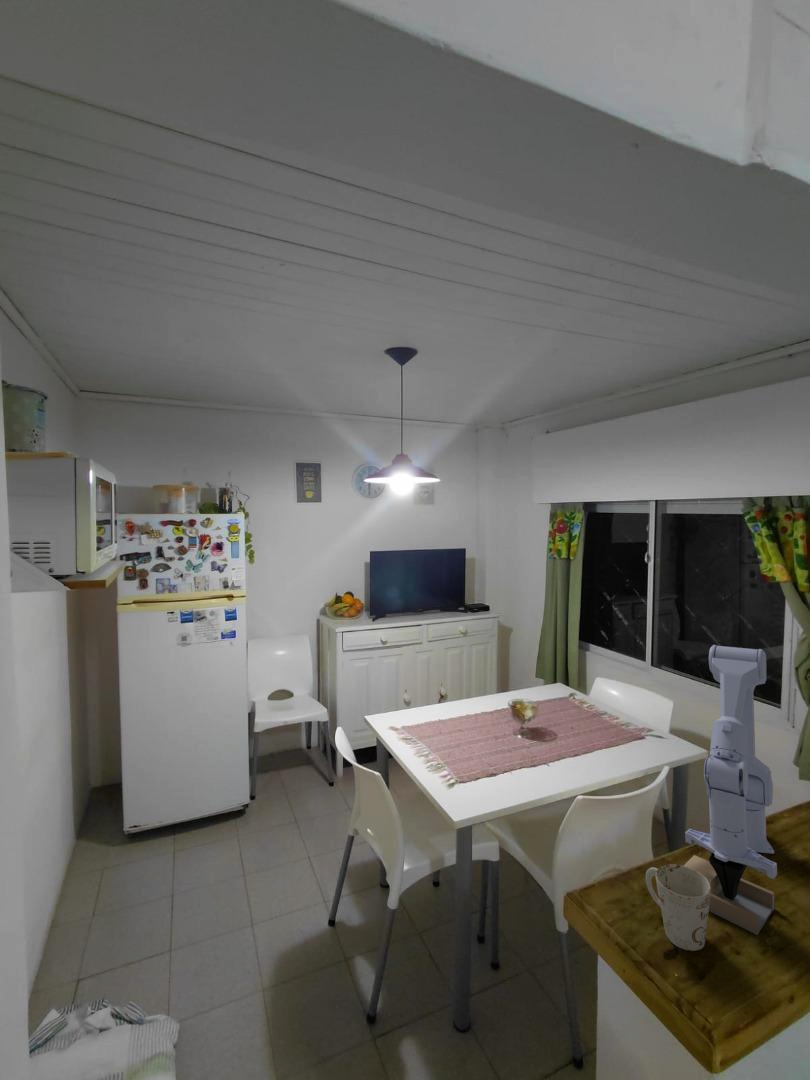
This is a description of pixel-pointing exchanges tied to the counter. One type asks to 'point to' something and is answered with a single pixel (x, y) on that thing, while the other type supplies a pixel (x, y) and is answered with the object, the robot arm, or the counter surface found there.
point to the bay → (745, 906)
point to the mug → (682, 904)
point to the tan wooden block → (705, 872)
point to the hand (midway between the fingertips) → (730, 896)
